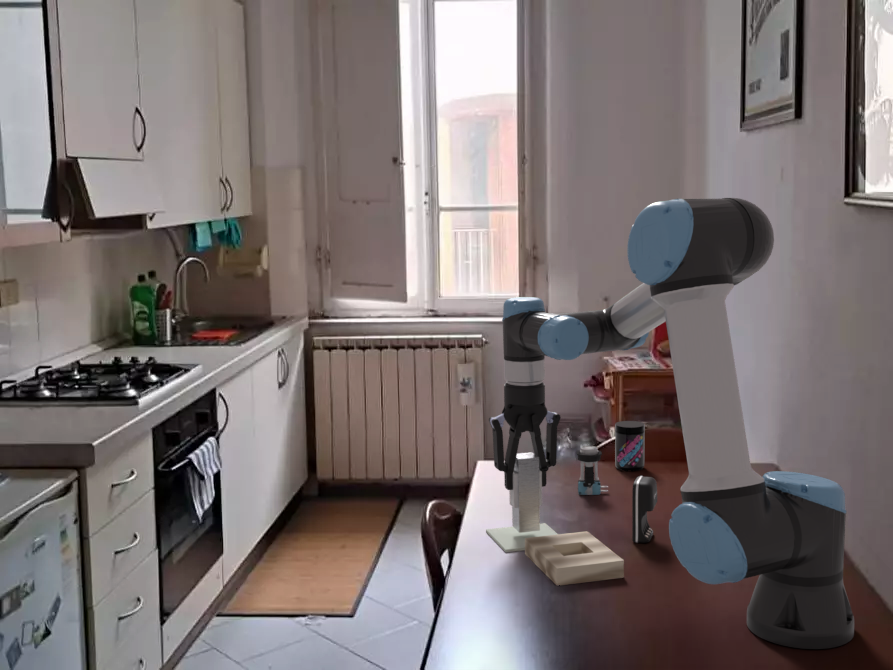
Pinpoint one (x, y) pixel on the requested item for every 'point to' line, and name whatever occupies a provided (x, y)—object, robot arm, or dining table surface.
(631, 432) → the supplement container
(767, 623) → the robot arm
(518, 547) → the pad
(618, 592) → the dining table surface
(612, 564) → the socket block
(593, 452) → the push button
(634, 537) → the key lock box
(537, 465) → the peg
